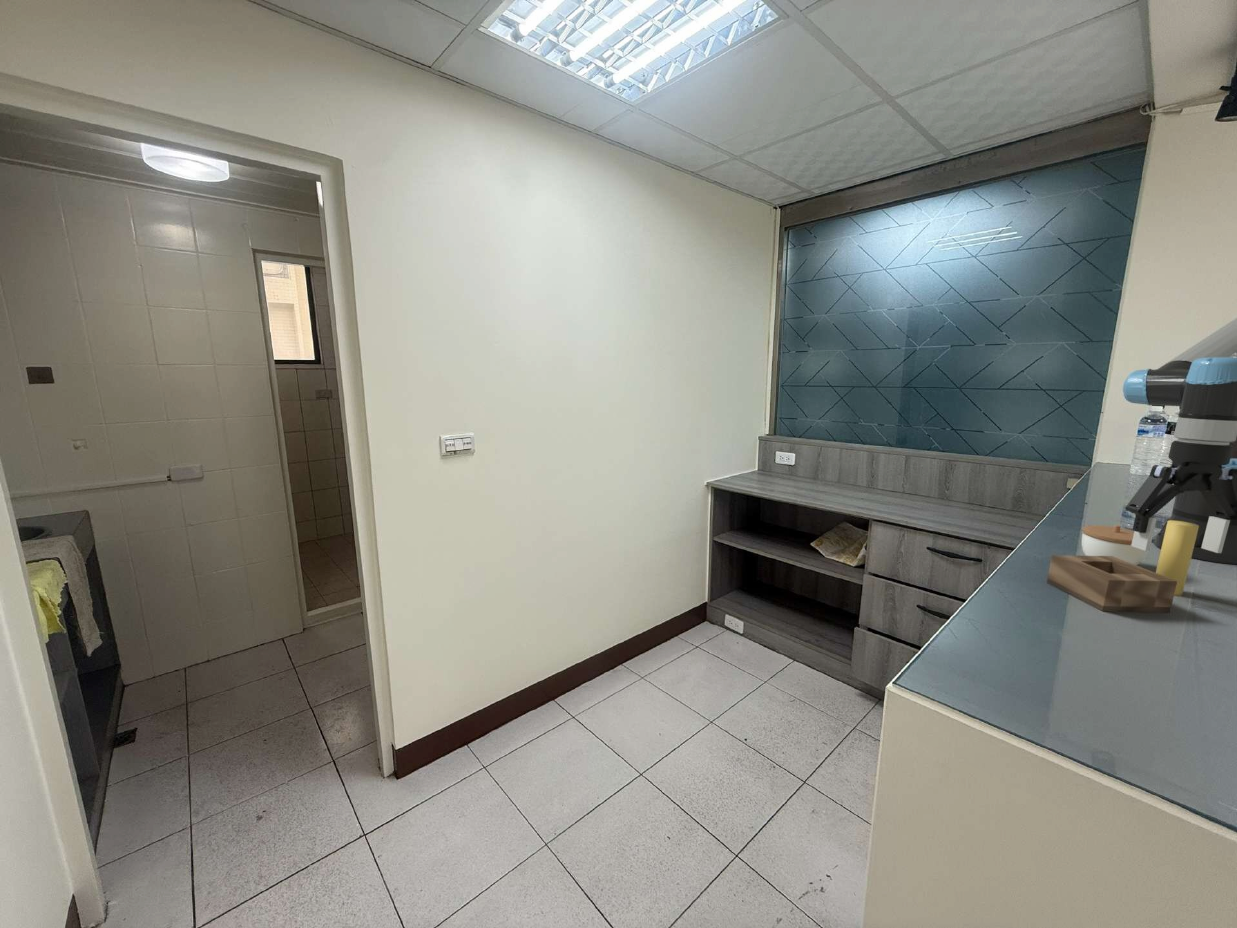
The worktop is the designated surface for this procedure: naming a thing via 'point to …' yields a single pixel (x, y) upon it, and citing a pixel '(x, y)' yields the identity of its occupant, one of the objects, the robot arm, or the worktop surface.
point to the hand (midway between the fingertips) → (1175, 549)
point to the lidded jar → (1111, 543)
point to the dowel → (1177, 552)
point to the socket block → (1111, 583)
